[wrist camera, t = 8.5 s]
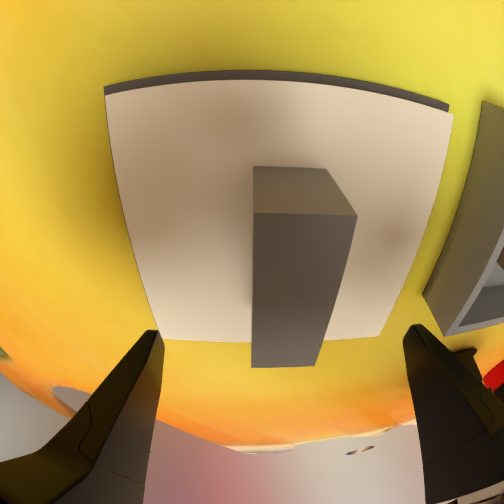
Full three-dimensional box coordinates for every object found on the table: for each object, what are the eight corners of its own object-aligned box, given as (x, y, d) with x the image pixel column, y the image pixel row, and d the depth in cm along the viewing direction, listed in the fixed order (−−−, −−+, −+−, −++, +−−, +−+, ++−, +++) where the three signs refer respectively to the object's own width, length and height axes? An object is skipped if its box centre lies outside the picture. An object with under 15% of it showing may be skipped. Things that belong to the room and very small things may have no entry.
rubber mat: (375, 324, 19) (377, 329, 19) (160, 326, 19) (158, 331, 19) (443, 102, 10) (449, 104, 9) (108, 85, 10) (103, 86, 9)
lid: (374, 325, 19) (394, 383, 14) (164, 327, 18) (149, 389, 14) (442, 110, 10) (513, 142, 6) (115, 92, 10) (45, 114, 6)
